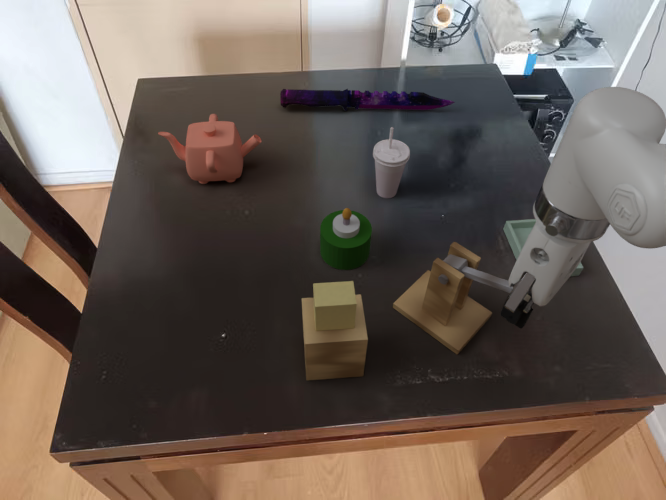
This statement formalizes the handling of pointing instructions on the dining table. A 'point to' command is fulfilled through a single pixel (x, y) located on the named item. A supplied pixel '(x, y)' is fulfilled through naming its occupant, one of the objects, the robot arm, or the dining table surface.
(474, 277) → the lever
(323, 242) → the candle
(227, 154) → the teapot
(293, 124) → the dining table surface
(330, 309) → the butter
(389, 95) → the knife
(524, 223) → the butter dish
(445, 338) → the slicer
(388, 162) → the smoothie
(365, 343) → the stand
